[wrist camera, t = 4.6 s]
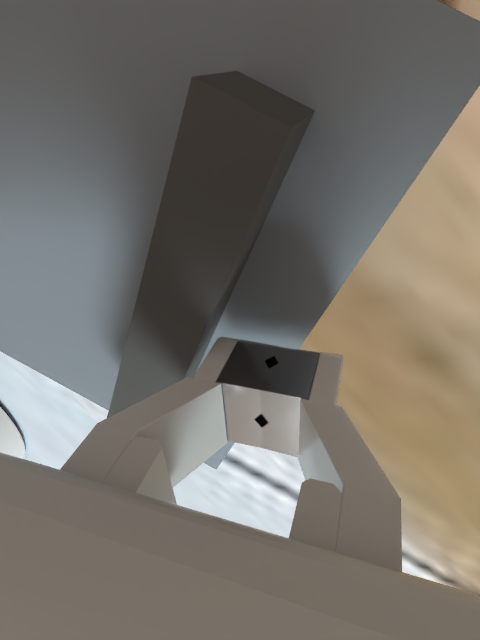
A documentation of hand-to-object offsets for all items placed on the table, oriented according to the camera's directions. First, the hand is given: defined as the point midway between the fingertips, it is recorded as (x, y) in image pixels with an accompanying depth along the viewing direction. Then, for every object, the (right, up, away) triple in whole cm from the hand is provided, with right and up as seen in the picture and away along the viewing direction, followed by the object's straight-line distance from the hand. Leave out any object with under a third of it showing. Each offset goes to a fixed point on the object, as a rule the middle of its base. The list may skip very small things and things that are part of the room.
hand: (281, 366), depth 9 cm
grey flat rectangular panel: (-8, +6, +2) cm, 10 cm away
